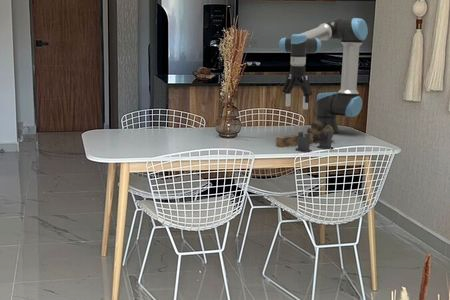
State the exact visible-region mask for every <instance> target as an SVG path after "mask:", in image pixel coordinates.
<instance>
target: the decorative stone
mask: <svg viewBox="0 0 450 300" xmlns="http://www.w3.org/2000/svg"><path fill="white" fill-rule="evenodd" d="M306 130H307V131H306V134H308V133H310V134H313V142H315V141H318V142H320V130H325V134H327V132H328V131H332V138H331V140H332V139H333V138H334V137H333V136H334V134H335V133H334V130H333V128H332V127H331V126H330V125H326V127H325V128H323V126H322V123H321V121H315V120H314V121H312V122H311V124H310V127H308V128H307V129H306Z"/></svg>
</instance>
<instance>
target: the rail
mask: <svg viewBox="0 0 450 300" xmlns="http://www.w3.org/2000/svg"><path fill="white" fill-rule="evenodd" d="M305 134H306V133H303V136H305ZM311 144H312V145H313V144H314V141H313V134H310V145H311ZM295 146H296V147H297V146H298V134H291V135H282V136H276V139H275V147H277V148H288V147H295Z"/></svg>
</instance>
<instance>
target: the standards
mask: <svg viewBox="0 0 450 300" xmlns="http://www.w3.org/2000/svg"><path fill="white" fill-rule="evenodd" d="M297 133H298V134H297V135H298V145H297V148H295V149H294V150H295V151H298V152H300V153H311V152H310V151H313V150H312V149H310V145H311V144H310V133H308V134H307V133H304V132H303V131H301V132H300V131H298V132H297ZM303 134H305V136H303ZM331 138H332V139H333V137H332V131H328V132H327V134H325V130H320V141H319V144H318V145H316V148H317V149H323V150H325V149H330V148H333V149H334V147H333V146H332V139H331ZM330 150H331V149H330Z"/></svg>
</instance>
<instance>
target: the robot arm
mask: <svg viewBox="0 0 450 300" xmlns="http://www.w3.org/2000/svg"><path fill="white" fill-rule="evenodd" d="M368 30H369V29H368V25H367V23H366V21H365V20H364V19H363V18H359V17H358V18H357V17H351V18H350V17H348V18H347V17H345V18H335V19H331V20H328V21H326V22H324V23H323V22H322V23H321V24H319V25H318V26H317V27H315V28H312V29H310V30H307V31H304V32H301V33H299V34H298V33H293V34H292V35H291V37H282V38H281V39H280V40H279V42H278V48H279V50H280V51H281V52H282V53H290V67H289V68H290V70H289V73H290V74H287V75H286V79H285V83H284V84H283V85H284V86H283V88H282V92H283V93H284V95H285V98H284V99H285V107H291V102H292V101H291V99H292V97H291V96H292V93H291V91H292V89H294V87H295V85H298V86H299V87H300V89H301V91H302V94H303V96H302V97H303V98H302V110H309V102H310V96H313V91H312V88H311V84H310V80H309V76H308V75H305V74H306V66H305V65H306V62H307V61H306V60H307V54H316V53H318V52H320V51H321V49H322V42H323V41H329V40H340V43H341V45H342V46H343V49H342V51H343V52H342V65H341V66H342V67H341V77H340V78H341V80H340V89H339V90H338V91H332V92H331V91H329V92H319V93H318V94H317V95H316V106H315V107H316V108H315V109H316V112H315V114H316V115H315V120H314V121H321V123H322V126H323V128H325V127H326V125H330V126H331V127H332V128H333V130H334V134H339V131H340V128H339V125H338V121H337V116H341V117H347V118H348V117H349V118H354V117H357V116H358V115H359V114H360V112H361V111H362V108H363V99H362V98H361V96H359V95H360V94H359V92H358V90H357V85H358V84H357V83H358V74H359V73H358V70H359V57H360V56H359V55H360V47H361V46H362V45H363V42H364V40H366V39H367V36H368V33H369V31H368Z"/></svg>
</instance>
